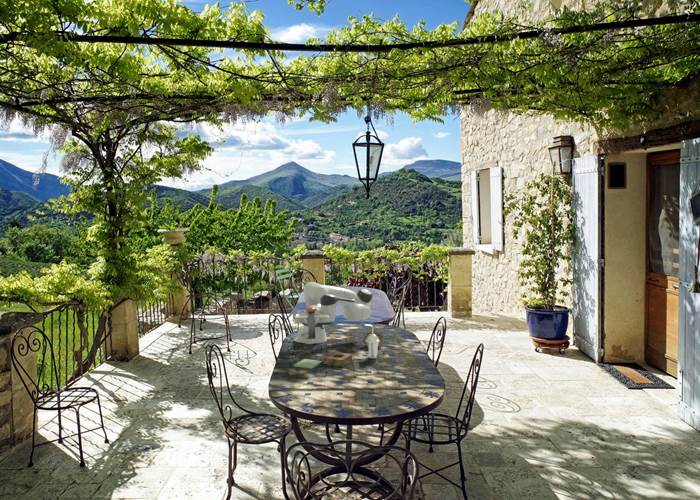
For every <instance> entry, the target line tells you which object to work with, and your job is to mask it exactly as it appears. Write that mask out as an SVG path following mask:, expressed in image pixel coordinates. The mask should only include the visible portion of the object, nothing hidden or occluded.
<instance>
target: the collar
mask: <svg viewBox="0 0 700 500" xmlns="http://www.w3.org/2000/svg"><path fill="white" fill-rule="evenodd" d="M323 362H324V364H328V365H327V366H331V365H335V366H334V367H339V366H344V367H346V366H347V365H349V364H351V362H353V354H352V353H343V352H337V351H336V352H335V351H333V352H332V353H330V354H328V355H326V356H325V357H324V358H323ZM345 365H346V366H345Z"/></svg>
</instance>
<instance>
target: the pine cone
mask: <svg viewBox="0 0 700 500" xmlns="http://www.w3.org/2000/svg"><path fill="white" fill-rule="evenodd" d="M371 334H372V330H371V331H369V332H366V333H365V334H364V335H363V338H362V339H357V338H355V337H352V336H349V339H350V340H351V341H353V342H354V341H355V342H357V343H363V344H365V345H366V347H368V345H367V342H366V339H367V337H368V336H369V335H371ZM373 334H375V335H377V337H378V339H380V342H379V344H378V345H380V344H381V343H383V341H384V340H385V339H384V337H385V336H384V335H383V333H381V332H380V331H378V330H373Z"/></svg>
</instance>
